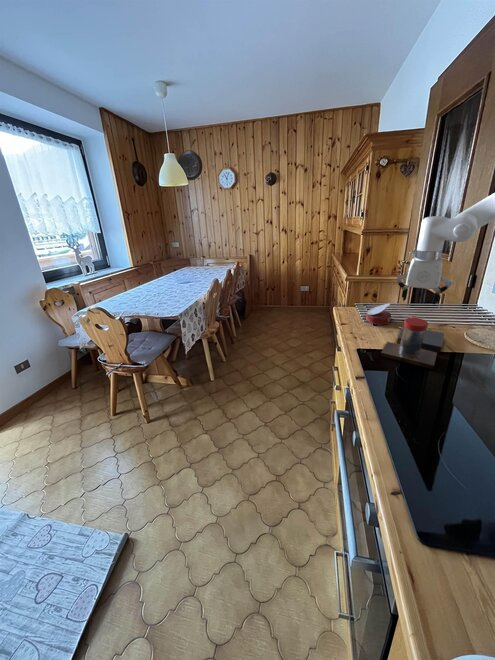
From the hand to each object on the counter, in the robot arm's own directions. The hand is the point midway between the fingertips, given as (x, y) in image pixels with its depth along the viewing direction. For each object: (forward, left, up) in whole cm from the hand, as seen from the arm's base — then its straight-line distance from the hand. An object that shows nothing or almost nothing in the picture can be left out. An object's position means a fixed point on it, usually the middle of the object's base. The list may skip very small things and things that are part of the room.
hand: (418, 301), depth 105 cm
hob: (-3, +3, -15) cm, 15 cm away
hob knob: (+1, 0, -12) cm, 12 cm away
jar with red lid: (-2, +17, -13) cm, 21 cm away
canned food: (+15, -9, -15) cm, 23 cm away
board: (-1, +17, -15) cm, 22 cm away
